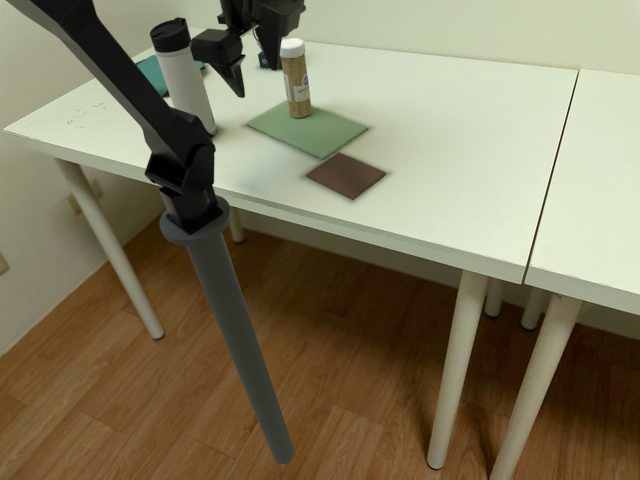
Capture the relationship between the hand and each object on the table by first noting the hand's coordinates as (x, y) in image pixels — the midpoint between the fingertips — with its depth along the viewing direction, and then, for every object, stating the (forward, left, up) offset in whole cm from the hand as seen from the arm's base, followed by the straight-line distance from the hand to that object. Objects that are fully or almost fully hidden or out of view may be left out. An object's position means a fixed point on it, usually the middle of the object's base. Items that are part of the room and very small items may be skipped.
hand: (258, 83), depth 72 cm
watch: (+26, +28, -13) cm, 40 cm away
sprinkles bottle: (+13, +6, -13) cm, 19 cm away
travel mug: (-3, +17, -13) cm, 22 cm away
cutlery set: (+12, +47, -13) cm, 50 cm away
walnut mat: (+3, -14, -13) cm, 19 cm away
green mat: (+10, +2, -13) cm, 16 cm away
